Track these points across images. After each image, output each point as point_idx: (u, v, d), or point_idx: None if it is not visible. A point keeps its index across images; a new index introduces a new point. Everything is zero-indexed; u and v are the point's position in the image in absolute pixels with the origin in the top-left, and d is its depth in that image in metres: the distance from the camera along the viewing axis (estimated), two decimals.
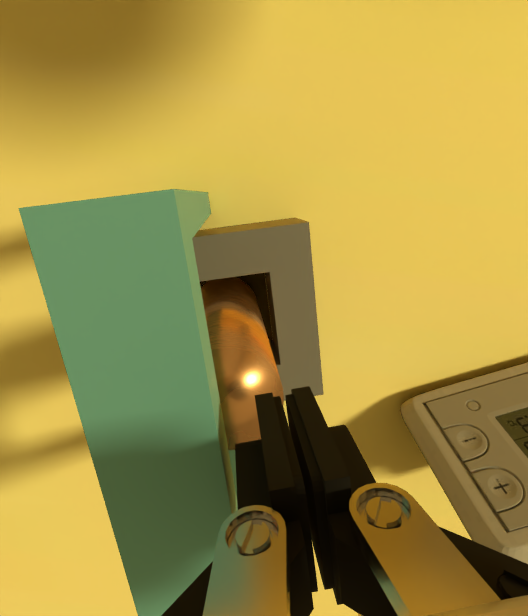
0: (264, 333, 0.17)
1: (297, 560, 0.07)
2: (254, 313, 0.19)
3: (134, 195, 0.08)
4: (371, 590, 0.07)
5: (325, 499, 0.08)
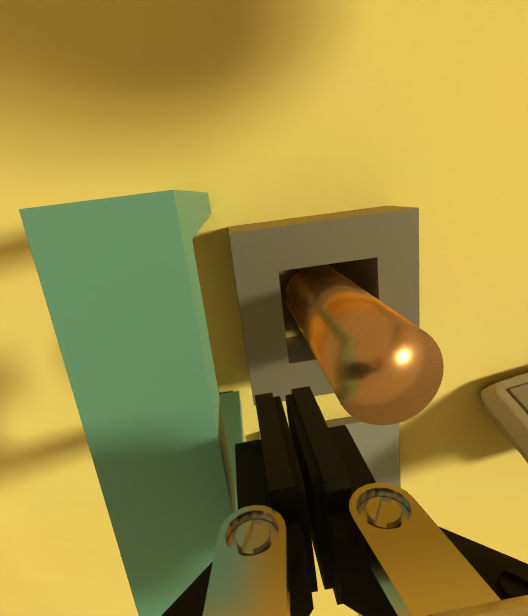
0: None
1: (297, 560, 0.07)
2: None
3: (134, 196, 0.08)
4: (371, 590, 0.07)
5: (325, 499, 0.08)
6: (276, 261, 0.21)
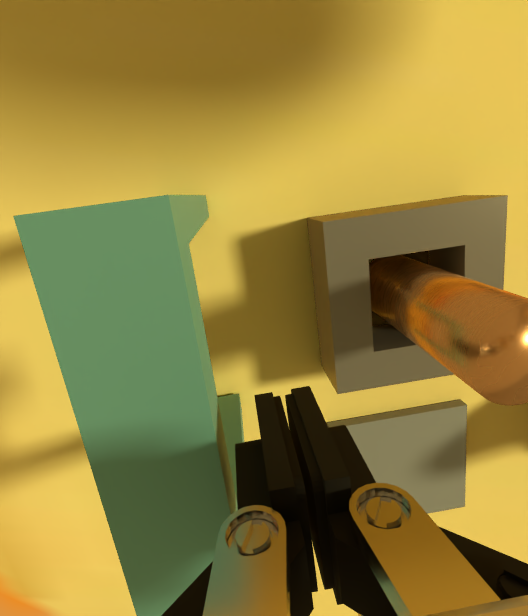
0: None
1: (297, 560, 0.07)
2: None
3: (129, 201, 0.08)
4: (371, 589, 0.07)
5: (325, 499, 0.08)
6: (367, 249, 0.21)
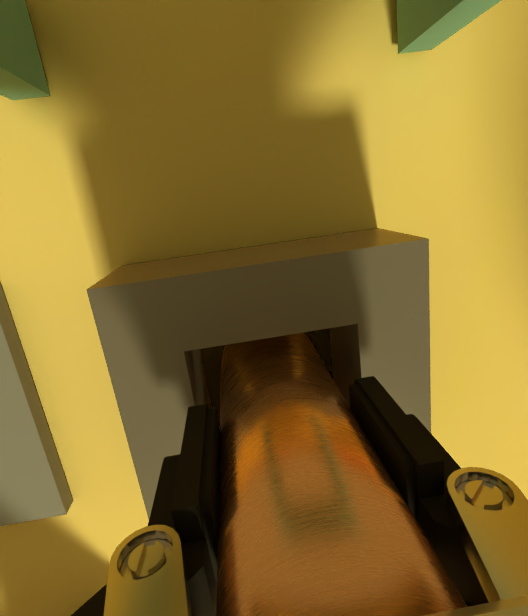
0: None
1: (193, 582, 0.07)
2: None
3: None
4: (472, 572, 0.07)
5: (417, 483, 0.08)
6: (374, 319, 0.12)
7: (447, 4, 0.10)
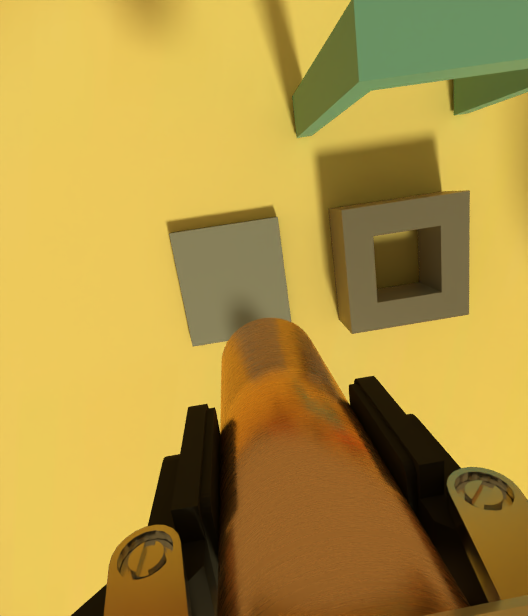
0: None
1: (193, 582, 0.07)
2: None
3: None
4: (472, 572, 0.07)
5: (418, 483, 0.08)
6: (447, 224, 0.30)
7: (477, 103, 0.29)
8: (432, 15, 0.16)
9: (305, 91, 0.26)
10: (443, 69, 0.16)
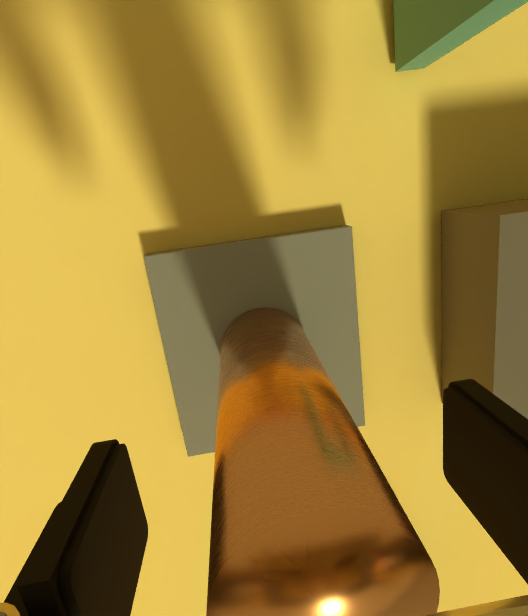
0: None
1: None
2: None
3: None
4: None
5: None
6: None
7: None
8: None
9: None
10: None
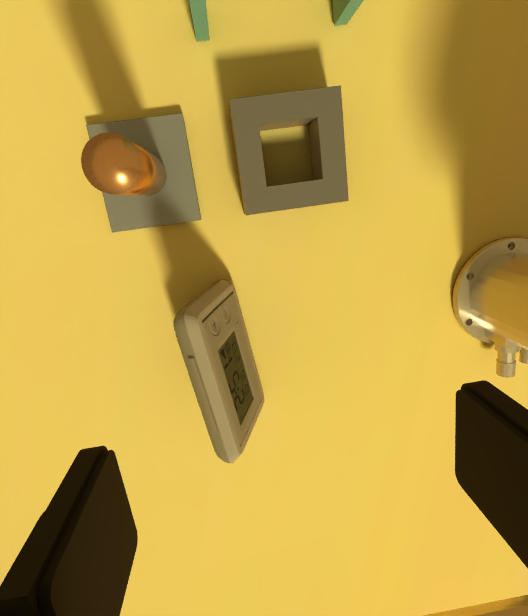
0: (141, 190, 0.31)
1: None
2: (150, 187, 0.33)
3: None
4: None
5: None
6: (323, 115, 0.35)
7: (343, 8, 0.34)
8: None
9: None
10: None
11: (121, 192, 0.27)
